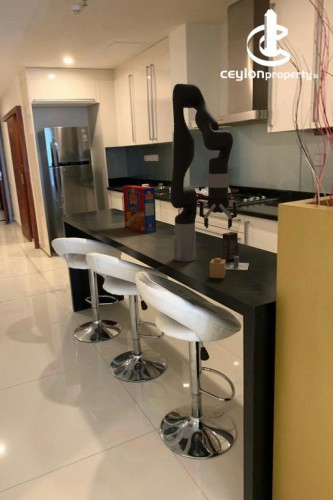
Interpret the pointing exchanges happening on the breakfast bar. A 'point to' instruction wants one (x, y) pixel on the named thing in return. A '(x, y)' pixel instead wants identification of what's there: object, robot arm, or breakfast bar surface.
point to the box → (230, 245)
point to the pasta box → (139, 208)
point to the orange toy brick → (217, 268)
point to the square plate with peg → (236, 265)
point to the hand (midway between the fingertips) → (218, 228)
